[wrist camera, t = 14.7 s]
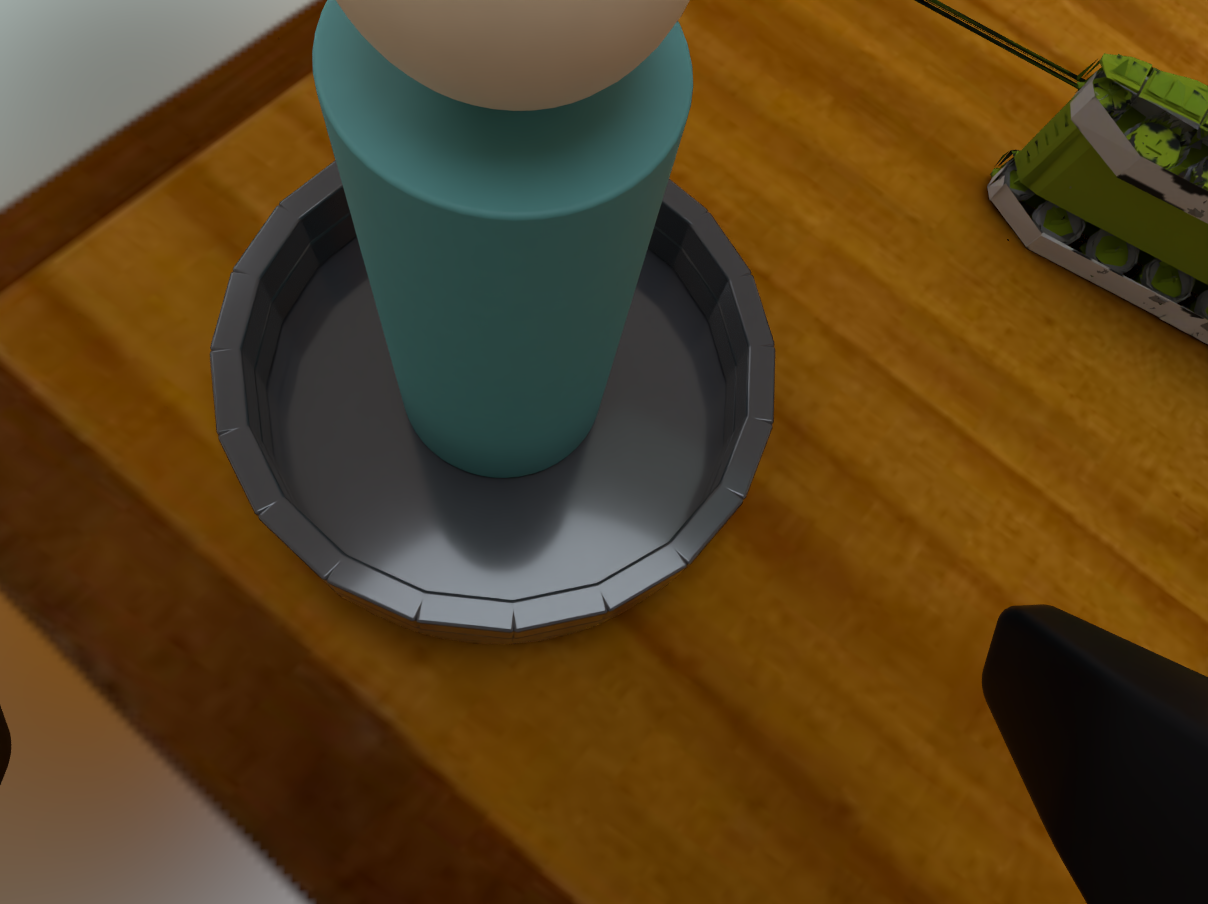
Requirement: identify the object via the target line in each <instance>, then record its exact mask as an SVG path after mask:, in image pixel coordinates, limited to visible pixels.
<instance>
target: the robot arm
mask: <svg viewBox="0 0 1208 904" xmlns="http://www.w3.org/2000/svg"><path fill="white" fill-rule="evenodd" d="M982 688H983V693H984V697H985V699H986V702H987V704H988V706H989V708H990V711H991V713H992V715H993V717H994V719H995V721H996V724H997V726H998V728H999V730H1000V732H1001V734H1002V736H1003V739H1004V741H1005V743H1006V745H1007V747H1008V749H1009V751H1010V754H1011V756H1012V758H1013V760H1014V762H1015V764H1016V767H1017V769H1018V771H1019V773H1020V775H1021V777H1022V779H1023V782H1024V784H1025V786H1026V788H1027V790H1028V792H1029V794H1030V797H1031V799H1032V801H1033V803H1034V805H1035V807H1036V809H1037V812H1038V814H1039V816H1040V818H1041V820H1042V822H1043V824H1044V826H1045V828H1046V830H1047V832H1048V834H1049V836H1050V838H1051V840H1052V842H1053V844H1054V846H1055V848H1056V850H1057V852H1058V853H1059V855H1060V857H1061V859H1062V861H1063V863H1064V864H1065V866H1066V868H1067V870H1068V872H1069V873H1070V875H1071V877H1072V878H1073V880H1074V882H1075V884H1076V885H1077V887H1078V889H1079V890H1080V892H1081V894H1082V896H1083V897H1084V899H1085V901H1086V902H1087V904H1208V677H1206V676H1204V675H1202V674H1199V673H1197V672H1195V671H1193V670H1191V669H1189V668H1186V667H1184V666H1182V665H1180V664H1178V663H1176V662H1173V661H1171V660H1169V659H1167V658H1165V657H1163V656H1160V655H1158V654H1156V653H1154V652H1152V651H1149V650H1147V649H1145V648H1143V647H1141V646H1139V645H1136V644H1134V643H1132V642H1130V641H1128V640H1126V639H1123V638H1121V637H1119V636H1117V635H1115V634H1112V633H1110V632H1108V631H1106V630H1104V629H1102V628H1099V627H1097V626H1095V625H1093V624H1091V623H1089V622H1086V621H1084V620H1082V619H1080V618H1078V617H1076V616H1073V615H1071V614H1069V613H1067V612H1065V611H1062V610H1060V609H1058V608H1056V607H1053V606H1050V605H1022V606H1011V607H1009V608H1007V609H1005V610H1004V611H1003V612H1002V613H1001V615H1000V616H999V618H998V621H997V624H996V628H995V631H994V635H993V638H992V641H991V645H990V648H989V652H988V655H987V658H986V662H985V665H984V669H983V673H982ZM10 755H11V737H10V732H9V729H8V726H7V723H6V720H5V718H4V715H3V712H2V709H1V706H0V785H1V782H2V779H3V777H4V774H5V772H6V769H7V767H8V763H9V759H10Z"/></svg>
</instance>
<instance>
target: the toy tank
mask: <svg viewBox="0 0 1208 904" xmlns="http://www.w3.org/2000/svg"><path fill="white" fill-rule="evenodd" d="M915 1H917V2H918V3H920V4H922V5H924V6H926V7H928V8H930V9H931V10H933V11H935V12H937V13H939V14H941V15H942V16H944V17H946V18H948V19H950V20H952V21H954V22H955V23H957V24H959V25H961V26H963V27H965V28H966V29H968V30H970V31H972V32H974V33H976V34H978V35H979V36H981V37H983V38H985V39H987V40H989V41H990V42H992V43H994V44H996V45H998V46H1000V47H1002V48H1003V49H1005V50H1007V51H1009V52H1011V53H1013V54H1014V55H1016V56H1018V57H1020V58H1022V59H1024V60H1026V61H1027V62H1029V63H1031V64H1033V65H1035V66H1037V67H1038V68H1040V69H1042V70H1044V71H1046V72H1048V73H1050V74H1051V75H1053V76H1055V77H1057V78H1059V79H1061V80H1062V81H1064V82H1066V83H1068V84H1070V85H1072V86H1073V87H1075V88H1077V89H1078V92H1077V93H1076V92H1075V93H1076V94H1075V96H1074V97H1073V98H1072V99H1071V100H1070V101H1069V102H1068V103H1067V104H1066V105H1065V106H1064V107H1063V108H1062V109H1061V110H1060V111H1059V112H1058V113H1057V114H1056V115H1055V116H1054V117H1053V118H1052V119H1051V120H1050V121H1049V122H1048V124H1047V125H1046V126H1045V127H1044V128H1043V129H1042V130H1041V131H1040V132H1039V133H1038V134H1037V135H1036V136H1035V137H1034V138H1033V139H1032V140H1031V141H1030V142H1029V143H1028V144H1027V145H1026V146H1025V147H1024V148H1023V149H1022V150H1021V151H1019V150H1011V151H1010V152H1009V153H1008V152H1007V153H1008V154H1007V153H1006V154H1007V156H1006V157H1005V158H1004V159H1003V161H1002V162H1001V163H1000V164H1002V163H1003V162H1004V161H1005V160H1006V159H1007V158H1009V157H1010V156H1011V155H1012V154H1013V156H1014V157H1013V158H1012V159H1011V160H1009V161H1008V162H1007V163H1005V164H1004V165H1003V166H1001V167H1000V168H1002V169H1000V168H996V169H995V168H994V169H993V171H992V173H991V174H990V175H991V177H992V179H991V181H990V183H989V185H988V186H987V188H988V194H989V200H990V199H991V201H992V202H993V203H994V205H995V206H996V207H997V209H998V210H999V211H1000V213H1001V214H1002V215H1003V217H1004V218H1005V219H1006V221H1007V222H1008V223H1009V225H1010V226H1011V227H1012V229H1013V230H1014V231H1015V233H1016V234H1017V235H1018V237H1019V238H1020V239H1021V241H1022V242H1023V243H1024V245H1025V246H1026V248H1027V249H1029V250H1031V251H1033V252H1035V253H1037V254H1039V255H1041V256H1043V257H1045V258H1047V259H1049V260H1050V261H1052V262H1054V263H1056V264H1058V265H1060V266H1062V267H1064V268H1066V269H1068V270H1070V271H1072V272H1073V273H1075V274H1077V275H1079V276H1081V277H1083V278H1085V279H1087V280H1089V281H1091V282H1093V283H1095V284H1096V285H1098V286H1100V287H1102V288H1104V289H1106V290H1108V291H1110V292H1112V293H1114V294H1116V295H1118V296H1119V297H1121V298H1123V299H1125V300H1127V301H1129V302H1131V303H1133V304H1135V305H1137V306H1139V307H1141V308H1143V309H1144V310H1146V311H1148V312H1150V313H1152V314H1154V315H1156V316H1158V317H1159V319H1161V320H1163V321H1165V322H1167V323H1169V324H1171V325H1172V326H1174V327H1176V328H1178V329H1180V330H1182V331H1184V332H1186V333H1187V334H1189V335H1191V336H1193V337H1195V338H1197V339H1199V340H1200V341H1202V342H1204V343H1206V344H1208V86H1207V85H1205V84H1203V83H1201V82H1199V81H1197V80H1193V79H1191V78H1187V77H1182V76H1178V75H1174V74H1171V73H1167V72H1163V71H1160V70H1158V69H1156V68H1153V67H1152V64H1149V63H1147V62H1144V61H1141V60H1139V59H1136V58H1133V57H1127V56H1122V55H1120V54H1118V55H1111V54H1105V53H1104V55H1103V56H1102V58H1101V59H1100V60H1099V61H1098V63H1097V64H1096V65H1095V66H1094V67H1093V68H1092V69H1091V70H1090V71H1089V72H1088V73H1087V74H1089V73H1090V72H1091V71H1092V70H1093V69H1094V68H1095V67H1096V66H1097V65H1098V64H1099V63H1100V64H1101V66H1102V68H1100V69H1099V70H1098V71H1096V72H1095V73H1094V74H1093V75H1092V76H1090V77H1089V78H1088V79H1087V80H1085V79H1083V78H1081V77H1082V76H1083V75H1084V74H1085V72H1086V71H1087V70H1088V69H1089V68H1090V67H1091V66H1092V65H1093V64H1094V63H1095V62H1096V61H1097V60H1098V59H1099V58H1098V59H1097V60H1096V61H1095V62H1094V63H1092V64H1091V65H1090V66H1089V67H1088V68H1086V69H1085V70H1084V71H1083V72H1082V73H1080V74H1079V75H1078V76H1077V75H1075V74H1073V73H1071V72H1069V71H1068V70H1066V69H1064V68H1062V67H1060V66H1058V65H1056V64H1054V63H1053V62H1051V61H1049V60H1047V59H1045V58H1043V57H1041V56H1039V55H1037V54H1036V53H1034V52H1032V51H1030V50H1028V49H1026V48H1024V47H1022V46H1021V45H1019V44H1017V43H1015V42H1013V41H1011V40H1009V39H1008V38H1006V37H1004V36H1002V35H1000V34H998V33H997V32H995V31H993V30H991V29H989V28H987V27H986V26H984V25H982V24H980V23H978V22H976V21H974V20H973V19H971V18H969V17H967V16H965V15H963V14H962V13H960V12H958V11H956V10H954V9H952V8H950V7H949V6H947V5H945V4H943V3H941V2H939V1H938V0H932V1H931V0H928V2H929V1H930V2H929V3H931V2H932V3H931V4H933V3H934V4H933V5H935V4H936V5H938V6H940V7H941V9H942V8H943V9H942V10H944V9H945V11H946V10H947V11H946V12H948V11H949V12H951V13H953V14H955V13H956V14H955V15H956V16H955V15H953V14H952V15H953V16H955V17H957V16H958V18H959V17H960V19H961V18H962V19H964V20H966V21H968V20H969V21H968V22H969V24H970V23H971V25H972V24H973V26H974V25H975V26H977V27H979V26H980V27H979V28H981V29H982V31H983V30H984V32H985V31H986V33H987V32H988V33H990V34H992V35H994V36H995V38H996V37H997V39H998V38H999V40H1000V39H1001V40H1003V41H1005V42H1007V43H1008V45H1009V44H1010V46H1011V45H1012V47H1013V46H1014V47H1016V48H1018V49H1020V50H1022V51H1023V53H1024V52H1025V55H1026V53H1027V56H1029V55H1031V56H1033V57H1035V58H1036V61H1037V59H1038V62H1040V63H1042V62H1044V63H1046V64H1048V65H1049V68H1050V66H1051V68H1052V67H1053V68H1052V69H1054V68H1055V69H1057V70H1059V71H1061V72H1062V75H1063V73H1064V76H1067V75H1068V76H1070V77H1072V78H1074V79H1075V80H1077V81H1076V82H1077V83H1075V82H1073V81H1074V80H1073V81H1071V80H1069V79H1068V78H1066V77H1064V76H1062V75H1060V74H1061V73H1060V74H1058V73H1056V72H1055V71H1053V70H1051V69H1049V68H1047V67H1045V66H1043V65H1042V64H1040V63H1038V62H1036V61H1034V60H1032V59H1030V58H1029V57H1027V56H1025V55H1023V54H1021V53H1019V52H1018V51H1016V50H1014V49H1016V48H1014V49H1012V48H1010V47H1008V46H1006V45H1005V44H1003V43H1005V42H1003V41H1001V42H1003V43H1001V42H999V41H997V40H995V39H993V38H992V37H990V36H988V35H986V34H984V33H982V32H981V31H979V30H981V29H979V28H977V27H976V28H977V29H979V30H977V29H975V28H973V27H971V26H970V25H968V24H966V23H968V22H966V21H965V22H966V23H964V22H962V21H961V20H962V19H961V20H959V19H957V18H955V17H953V16H951V15H950V14H951V13H950V14H948V13H949V12H948V13H946V12H944V11H942V10H940V9H939V8H940V7H939V8H937V7H938V6H937V7H935V6H936V5H935V6H933V5H931V4H929V3H928V2H926V1H927V0H926V1H924V0H915ZM942 6H943V7H942ZM944 7H945V8H944ZM957 14H958V15H957ZM964 20H963V21H964ZM990 34H989V35H990ZM992 35H991V36H992ZM994 36H993V37H994ZM1007 43H1006V44H1007ZM1020 50H1019V51H1020ZM1022 51H1021V52H1022ZM1028 54H1029V55H1028ZM1035 58H1034V59H1035ZM1039 60H1040V61H1039ZM1041 61H1042V62H1041ZM1048 65H1047V66H1048ZM1065 74H1066V75H1065ZM1087 74H1086V75H1087ZM1086 75H1085V76H1086ZM1078 81H1079V82H1078ZM1006 154H1004V155H1003V156H1002V157H1001V159H1000V160H999V161H998V163H999V162H1000V161H1001V160H1002V158H1003V157H1004V156H1005V155H1006ZM998 163H997V164H998ZM997 164H996V165H997ZM1000 164H999V165H1000ZM996 165H995V166H996ZM999 165H998V166H999ZM997 169H998V170H997ZM999 170H1000V171H999ZM992 182H993V183H992ZM991 183H992V184H991ZM990 184H991V185H990ZM1021 200H1022V201H1021ZM1020 201H1021V203H1019V202H1020ZM1027 204H1028V205H1027ZM1029 205H1030V206H1032V207H1034V208H1036V210H1035V209H1033V208H1032V207H1030V206H1029ZM1026 212H1027V213H1029V214H1031V215H1028V214H1027V213H1026ZM1082 233H1083V234H1085V235H1087V236H1089V237H1090V238H1089V239H1088V240H1087V239H1085V238H1082V237H1080V236H1081V234H1082ZM1078 238H1079V239H1081V240H1083V241H1084V243H1085V242H1086V243H1085V244H1084V243H1083V245H1082V244H1081V247H1080V249H1081V250H1079V251H1077V250H1075V249H1073V248H1071V247H1069V246H1068V245H1069V244H1071V243H1072V242H1074V241H1075V240H1077V239H1078ZM1007 240H1008V241H1009V239H1007ZM1137 262H1138V263H1140V264H1142V265H1143V267H1141V266H1139V265H1137ZM1133 267H1135V268H1137V269H1138V270H1136V272H1135V274H1136V273H1137V272H1138V271H1139V270H1140V272H1139V273H1138V275H1137V276H1135V277H1134V278H1131V279H1130V278H1128V277H1126V276H1124V275H1122V274H1123V273H1126V272H1128V271H1129V270H1130V269H1132V268H1133ZM1135 274H1134V275H1135ZM1136 277H1137V278H1136ZM1191 291H1192V292H1194V293H1196V294H1198V295H1197V296H1198V297H1197V296H1195V297H1194V296H1193V295H1191V294H1190V293H1191ZM1187 297H1191V298H1190V299H1189V301H1188V302H1187V303H1186V304H1188V303H1189V302H1191V301H1192V302H1191V303H1189V304H1188V305H1183V306H1180V305H1178V304H1177V303H1178V302H1180V301H1183V300H1185V299H1187ZM1196 297H1197V298H1196ZM1192 298H1193V299H1192ZM1187 308H1188V309H1187Z"/></svg>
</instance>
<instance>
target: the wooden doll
mask: <svg viewBox="0 0 1208 904" xmlns="http://www.w3.org/2000/svg"><path fill="white" fill-rule="evenodd" d="M688 2H689V0H327V2H326V4H325V6H324V8H323V10H322V13H321V16H320V19H319V22H318V25H317V28H316V32H315V38H314V45H313V52H312V55H313V75H314V80H315V85H316V90H317V95H318V98H319V102H320V105H321V109H322V113H323V116H324V120H325V123H326V127H327V131H328V134H329V138H330V141H331V145H332V149H333V152H334V156H335V159H336V163H337V167H338V170H339V174H340V177H341V181H342V184H343V188H344V192H345V195H346V199H347V202H348V206H349V210H350V213H351V217H352V220H353V224H354V228H355V231H356V235H357V238H358V242H359V246H360V249H361V253H362V256H363V260H364V263H365V267H366V271H367V274H368V278H369V281H370V285H371V289H372V292H373V296H374V299H375V303H376V307H377V310H378V314H379V317H380V321H381V325H382V328H383V332H384V335H385V339H386V343H387V346H388V350H389V353H390V357H391V360H392V364H393V368H394V371H395V375H396V378H397V382H398V386H399V389H400V393H401V396H402V400H403V404H404V407H405V410H406V413H407V416H408V418H409V421H410V423H411V425H412V426H413V428H414V430H415V432H416V433H417V435H418V436H419V437H420V439H421V440H422V441H423V443H424V444H425V445H426V446H427V447H428V448H429V449H430V450H431V451H432V452H434V453H435V454H436V455H437V456H439V457H440V458H441V459H442V460H444V461H446V462H448V463H449V464H451V465H453V466H454V467H457V468H459V469H461V470H464V471H466V472H469V473H473V474H476V475H480V476H487V477H495V478H510V477H520V476H525V475H529V474H533V473H536V472H539V471H542V470H545V469H547V468H549V467H551V466H553V465H555V464H557V463H558V462H560V461H561V460H563V459H564V458H565V457H567V456H568V455H569V454H570V453H572V452H573V451H574V450H575V449H576V448H577V447H578V446H579V445H580V443H581V442H582V441H583V440H584V439H585V437H586V436H587V434H588V433H589V431H590V429H591V428H592V426H593V423H594V421H595V419H596V417H597V413H598V410H599V407H600V404H601V400H602V397H603V394H604V390H605V387H606V384H607V381H608V377H609V374H610V371H611V367H612V364H613V361H614V357H615V354H616V351H617V348H618V344H619V341H620V338H621V334H622V331H623V328H624V325H625V321H626V318H627V315H628V311H629V308H630V305H631V302H632V298H633V295H634V292H635V288H636V285H637V282H638V279H639V275H640V272H641V269H642V265H643V262H644V259H645V256H646V252H647V249H648V246H649V242H650V239H651V236H652V232H653V229H654V226H655V223H656V219H657V216H658V213H659V209H660V206H661V203H662V200H663V196H664V193H665V190H666V186H667V183H668V180H669V177H670V173H671V170H672V167H673V163H674V160H675V157H676V154H677V150H678V147H679V144H680V140H681V137H682V134H683V131H684V127H685V124H686V120H687V117H688V114H689V110H690V107H691V100H692V91H693V73H692V64H691V59H690V54H689V49H688V45H687V42H686V39H685V37H684V34H683V31H682V29H681V26H680V24H679V22H678V20H679V18H680V17H681V15H682V14H683V12H684V10H685V8H686V6H687V4H688Z"/></svg>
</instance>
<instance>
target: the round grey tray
mask: <svg viewBox="0 0 1208 904" xmlns="http://www.w3.org/2000/svg"><path fill="white" fill-rule="evenodd" d="M210 348H211V351H210V363H211V374H212V386H213V397H214V408H215V419H216V430H217V434H218V435H219V441H220V443H221V445H222V447H223V449H224V451H225V453H226V455H227V457H228V460H229V462H230V464H231V466H232V468H233V470H234V472H235V474H236V476H237V478H238V480H239V482H240V484H241V486H242V488H243V490H244V492H245V494H246V496H247V498H248V500H249V502H250V504H251V507H252V509H253V511H254V513H255V514H256V515H257V516H258V517H259V520H260V521H262V522H263V523H264V524H265V525H266V526H267V527H268V528H269V529H270V530H271V531H272V532H273V533H274V534H275V535H276V536H277V537H278V538H279V539H280V540H281V541H282V542H284V543H285V544H286V545H287V546H288V547H289V548H290V549H291V550H292V551H293V552H294V553H295V554H296V555H297V556H298V557H299V558H300V559H301V560H302V561H303V562H304V563H305V564H307V565H308V566H309V567H310V568H311V569H312V570H313V571H314V572H315V573H316V574H317V575H318V576H319V577H320V578H321V579H322V580H323V581H324V582H325V583H327V584H328V585H329V586H330V587H331V588H332V589H333V590H334V591H335V592H336V593H337V594H338V595H339V596H341V597H343V598H344V599H345V600H348V601H350V602H352V603H354V604H356V605H358V606H361V607H363V608H364V609H366V610H367V611H369V612H371V613H372V614H374V615H376V616H379V617H381V618H383V619H385V620H388V621H390V622H392V623H394V624H397V625H399V626H401V627H404V628H406V629H409V630H413V631H415V632H418V633H423V634H425V635H428V636H434V637H437V638H441V639H447V640H454V641H461V642H468V643H475V644H517V643H525V642H533V641H542V640H548V639H552V638H556V637H560V636H564V635H568V634H572V633H575V632H579V631H582V630H585V629H587V628H591V627H595V626H596V625H597V624H602V623H604V622H606V621H607V620H609V619H612V618H614V617H616V616H617V615H619V614H621V613H623V612H624V611H626V610H628V609H630V608H631V607H633V606H635V605H637V604H638V603H640V602H642V601H643V600H644V599H646V598H647V597H648V596H650V595H651V594H653V593H655V592H656V591H658V590H660V589H661V588H663V587H665V586H667V585H668V584H669V583H670V582H671V581H673V580H674V579H675V578H676V577H677V576H678V575H679V574H680V573H681V572H683V571H684V570H685V569H686V568H687V567H688V566H689V565H690V564H691V563H692V562H693V561H694V560H695V559H696V557H697V556H698V555H699V554H700V553H701V551H702V550H703V549H704V548H705V547H706V546H707V544H708V543H709V542H710V541H711V540H712V539H713V537H714V536H715V535H716V534H717V533H718V532H719V530H720V529H721V528H722V527H723V526H724V524H725V523H726V522H727V521H728V520H729V519H730V517H731V516H732V515H733V514H734V513H735V512H736V510H737V509H738V508H739V507H740V506H741V505H742V503H743V500H744V499H745V498H746V496H747V493H748V491H749V488H750V486H751V483H752V480H753V478H754V475H755V472H756V470H757V467H758V465H759V462H760V459H761V457H762V454H763V451H764V449H765V446H766V444H767V441H768V438H769V436H770V433H771V430H772V424H773V422H774V384H775V347H774V341H773V338H772V335H771V331H770V328H769V325H768V322H767V319H766V315H765V312H764V309H763V306H762V303H761V300H760V296H759V293H758V290H757V287H756V284H755V280H754V277H753V275H751V271H750V269H749V268H748V266H747V265H746V264H745V262H744V261H743V259H742V258H741V256H740V255H739V254H738V252H737V251H736V249H735V248H734V246H733V245H732V244H731V242H730V241H729V239H728V238H727V236H726V235H725V234H724V232H723V231H722V229H721V228H720V226H719V225H718V224H717V222H716V221H715V219H714V218H713V216H712V215H711V214H710V213H709V212H708V210H707V209H706V208H705V207H704V206H702V205H701V204H700V203H699V202H697V201H696V200H695V199H694V198H692V197H691V196H690V195H689V194H687V193H686V192H685V191H684V190H682V189H681V188H680V187H679V186H677V185H676V184H675V183H674V182H672V181H671V180H670V179H669V180H668V183H667V186H666V190H665V193H664V196H663V200H662V203H661V206H660V209H659V213H658V216H657V219H656V223H655V226H654V229H653V232H652V236H651V239H650V242H649V246H648V249H647V252H646V256H645V259H644V262H643V265H642V269H641V272H640V275H639V279H638V282H637V285H636V288H635V292H634V295H633V298H632V302H631V305H630V308H629V311H628V315H627V318H626V321H625V325H624V328H623V331H622V334H621V338H620V341H619V344H618V348H617V351H616V354H615V357H614V361H613V364H612V367H611V371H610V374H609V377H608V381H607V384H606V387H605V390H604V394H603V397H602V400H601V404H600V407H599V410H598V413H597V417H596V419H595V421H594V423H593V426H592V428H591V429H590V431H589V433H588V434H587V436H586V437H585V439H584V440H583V441H582V442H581V443H580V445H579V446H578V447H577V448H576V449H575V450H574V451H573V452H572V453H570V454H569V455H568V456H567V457H565V458H564V459H563V460H561V461H560V462H558V463H557V464H555V465H553V466H551V467H549V468H547V469H545V470H542V471H539V472H536V473H533V474H529V475H525V476H520V477H510V478H495V477H487V476H480V475H476V474H473V473H469V472H466V471H464V470H461V469H459V468H457V467H454V466H453V465H451V464H449V463H448V462H446V461H444V460H442V459H441V458H440V457H439V456H437V455H436V454H435V453H434V452H432V451H431V450H430V449H429V448H428V447H427V446H426V445H425V444H424V443H423V441H422V440H421V439H420V437H419V436H418V435H417V433H416V432H415V430H414V428H413V426H412V425H411V423H410V421H409V418H408V416H407V413H406V410H405V407H404V404H403V400H402V396H401V393H400V389H399V386H398V382H397V378H396V375H395V371H394V368H393V364H392V360H391V357H390V353H389V350H388V346H387V343H386V339H385V335H384V332H383V328H382V325H381V321H380V317H379V314H378V310H377V307H376V303H375V299H374V296H373V292H372V289H371V285H370V281H369V278H368V274H367V271H366V267H365V263H364V260H363V256H362V253H361V249H360V246H359V242H358V238H357V235H356V231H355V228H354V224H353V220H352V217H351V213H350V210H349V206H348V202H347V199H346V195H345V192H344V188H343V184H342V181H341V177H340V174H339V170H338V167H337V163H336V160H335V161H334V162H333V163H331V164H330V165H329V166H327V167H326V168H325V169H323V170H322V171H321V172H319V173H318V174H317V175H315V176H314V177H313V178H312V179H310V180H309V181H308V182H306V183H305V184H304V185H302V186H301V187H300V188H298V189H297V190H296V191H294V192H293V193H292V194H290V195H289V196H288V197H286V198H285V199H284V200H282V201H281V202H280V203H279V206H277V207H276V208H275V210H274V211H273V212H272V214H271V215H270V217H269V218H268V220H267V221H266V222H265V224H264V225H263V227H262V228H261V230H260V231H259V232H258V234H257V235H256V237H255V238H254V240H253V241H252V242H251V244H250V245H249V247H248V248H247V249H246V251H245V252H244V254H243V255H242V257H241V258H240V259H239V261H238V262H237V264H236V265H235V267H234V269H233V272H232V273H231V275H230V279H229V282H228V286H227V290H226V293H225V297H224V300H223V304H222V307H221V311H220V315H219V318H218V322H217V325H216V329H215V333H214V336H213V340H212V343H211V347H210Z"/></svg>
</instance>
